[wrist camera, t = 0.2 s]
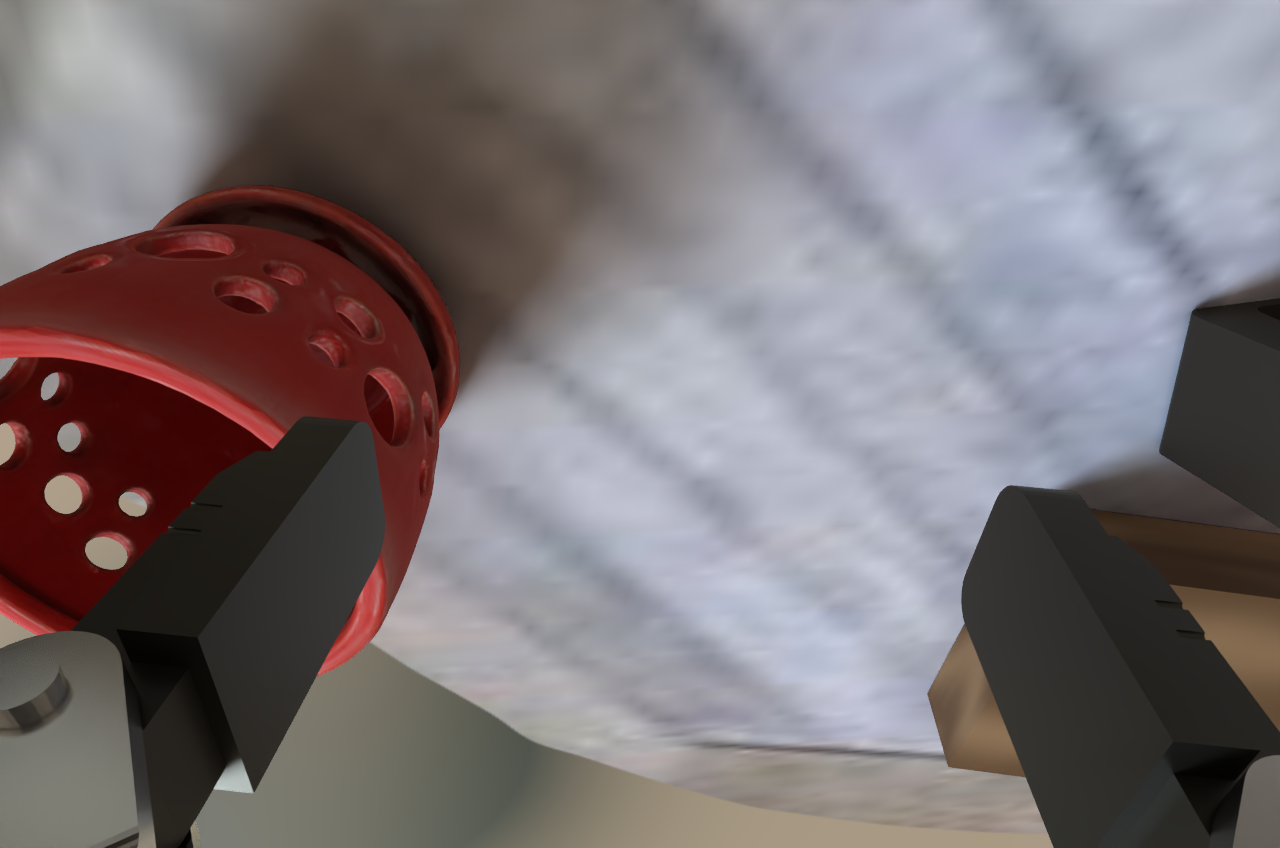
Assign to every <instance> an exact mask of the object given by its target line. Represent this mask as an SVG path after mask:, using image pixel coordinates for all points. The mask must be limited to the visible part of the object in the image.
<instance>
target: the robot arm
mask: <svg viewBox="0 0 1280 848" xmlns="http://www.w3.org/2000/svg"><path fill="white" fill-rule="evenodd" d="M384 534H385V513H384V506H383V500H382V493H381V486H380V479H379V472H378V466H377V459H376V452H375V445H374V439H373V434H372V431H371V428H370V426H369V425H368V424H367V423H366V422H363V421H354V420H343V419H333V418H322V417H312V416H304V417H302V418H300V419H299V420H298V421H297V422H296V423H295V424H294V425H293V426H292V427H291V428H290V430H289V431H288V432H287V433H286V434H285V435H284V436H283V438H282V439H281V440H280V441H279V442H278V443H277V444H276V446H275V447H274V448H273V449H272V450H271V451H270V452H264V451H256V452H254V453H252V454H251V455H249V456H247V457H245V458H244V459H242V460H240V461H238V462H237V463H235V464H233V465H232V466H230V467H228V468H226V469H225V470H223V471H221V472H220V473H218V474H217V475H216V476H215V477H214V478H213V479H212V480H211V481H210V482H209V483H208V484H207V486H206V487H205V488H204V489H203V490H202V491H201V492H200V493H199V494H198V495H197V496H196V497H195V498H194V499H193V501H192V502H191V507H190V509H188V508H185V509H184V510H183V511H182V512H181V513H180V514H179V515H178V517H177V518H176V519H175V520H174V521H173V522H172V523H171V524H170V525H169V526H168V532H167V533H162V534H161V535H160V536H159V537H158V538H157V539H156V540H155V541H154V542H153V543H152V544H151V545H150V546H149V548H148V549H147V550H146V551H145V552H144V553H143V554H142V555H141V556H140V557H139V558H138V559H137V560H136V561H135V563H134V564H133V565H132V566H131V567H130V568H129V569H128V570H127V571H126V572H125V573H124V574H123V575H122V576H121V577H120V579H119V580H118V581H117V582H116V583H115V584H114V585H113V586H112V587H111V588H110V589H109V590H108V591H107V592H106V594H105V595H104V596H103V597H102V598H101V599H100V600H99V601H98V602H97V603H96V604H95V605H94V606H93V607H92V608H91V610H90V611H89V612H88V613H87V614H86V615H85V616H84V617H83V618H82V619H81V620H80V621H79V622H78V623H77V625H76V626H75V627H74V628H73V629H72V630H71V631H61V632H53V633H47V634H42V635H38V636H34V637H31V638H27V639H24V640H21V641H18V642H15V643H12V644H10V645H7V646H5V647H3V648H1V649H0V848H202V847H201V841H200V835H199V831H198V827H197V824H196V822H195V819H196V818H197V816H198V814H199V813H200V811H201V809H202V807H203V806H204V804H205V802H206V801H207V799H208V797H209V796H210V794H211V792H212V790H213V789H218V790H228V791H238V792H246V793H247V792H248V793H254V792H255V790H256V788H257V787H258V785H259V783H260V781H261V779H262V777H263V775H264V773H265V772H266V770H267V768H268V766H269V764H270V762H271V760H272V758H273V757H274V755H275V753H276V751H277V749H278V747H279V745H280V743H281V741H282V740H283V738H284V736H285V734H286V732H287V730H288V728H289V727H290V725H291V723H292V721H293V719H294V717H295V715H296V714H297V712H298V710H299V708H300V706H301V704H302V702H303V700H304V699H305V697H306V695H307V693H308V691H309V689H310V687H311V685H312V684H313V682H314V680H315V678H316V676H317V674H318V672H319V670H320V669H321V667H322V665H323V663H324V661H325V659H326V657H327V656H328V654H329V652H330V650H331V648H332V646H333V644H334V642H335V641H336V639H337V637H338V635H339V633H340V631H341V629H342V627H343V626H344V624H345V622H346V620H347V618H348V616H349V614H350V612H351V611H352V609H353V607H354V605H355V603H356V601H357V599H358V598H359V596H360V594H361V592H362V590H363V588H364V586H365V584H366V583H367V581H368V579H369V577H370V575H371V573H372V571H373V569H374V568H375V566H376V564H377V561H378V559H379V556H380V553H381V550H382V546H383V541H384ZM1182 604H1183V602H1182V601H1181V599H1180V598H1179V597H1178V595H1177V594H1176V593H1175V591H1174V590H1173V589H1172V587H1171V586H1170V585H1169V583H1168V582H1167V581H1166V579H1165V578H1164V577H1163V575H1162V574H1161V573H1160V571H1159V570H1158V569H1157V567H1155V566H1154V565H1153V564H1152V563H1150V562H1149V561H1148V560H1146V559H1145V558H1144V557H1143V556H1141V555H1140V554H1139V553H1138V552H1136V551H1135V550H1134V549H1133V548H1131V547H1130V546H1129V545H1128V544H1126V543H1125V542H1124V541H1123V540H1121V539H1120V538H1119V537H1118V536H1110V535H1108V534H1107V532H1106V531H1105V529H1104V528H1103V527H1102V525H1101V524H1100V522H1099V521H1098V520H1097V518H1096V517H1095V515H1094V514H1093V512H1092V511H1091V510H1090V508H1089V507H1088V505H1087V504H1086V503H1085V501H1084V500H1083V499H1082V497H1081V496H1080V495H1078V494H1077V493H1075V492H1073V491H1065V490H1054V489H1044V488H1034V487H1023V486H1012V485H1010V486H1007V487H1006V488H1004V489H1003V490H1002V491H1001V492H1000V494H999V495H998V497H997V499H996V501H995V504H994V506H993V508H992V511H991V513H990V516H989V518H988V521H987V523H986V525H985V528H984V530H983V533H982V535H981V538H980V540H979V542H978V545H977V547H976V550H975V552H974V555H973V557H972V559H971V562H970V564H969V567H968V569H967V572H966V574H965V577H964V581H963V587H962V613H963V618H964V622H965V625H966V628H967V631H968V633H969V636H970V638H971V641H972V643H973V646H974V648H975V651H976V653H977V656H978V658H979V661H980V663H981V666H982V668H983V671H984V673H985V676H986V678H987V681H988V683H989V686H990V688H991V691H992V693H993V696H994V698H995V701H996V704H997V706H998V709H999V711H1000V714H1001V716H1002V719H1003V721H1004V724H1005V726H1006V729H1007V731H1008V734H1009V736H1010V739H1011V741H1012V744H1013V746H1014V749H1015V751H1016V754H1017V756H1018V759H1019V761H1020V764H1021V766H1022V769H1023V771H1024V774H1025V777H1026V779H1027V782H1028V784H1029V787H1030V789H1031V792H1032V794H1033V797H1034V799H1035V802H1036V804H1037V807H1038V809H1039V812H1040V814H1041V817H1042V819H1043V822H1044V824H1045V827H1046V829H1047V832H1048V834H1049V837H1050V839H1051V842H1052V844H1053V847H1054V848H1280V732H1279V730H1278V729H1277V728H1276V726H1275V725H1274V724H1273V722H1272V721H1271V720H1270V718H1269V717H1268V716H1267V714H1266V713H1265V712H1264V710H1263V709H1262V708H1261V706H1260V705H1259V704H1258V702H1257V701H1256V700H1255V698H1254V697H1253V696H1252V694H1251V693H1250V692H1249V690H1248V689H1247V688H1246V686H1245V685H1244V684H1243V682H1242V681H1241V680H1240V678H1239V677H1238V676H1237V674H1236V673H1235V672H1234V670H1233V669H1232V668H1231V666H1230V665H1229V664H1228V662H1227V661H1226V660H1225V658H1224V657H1223V656H1222V654H1221V653H1220V652H1219V650H1218V649H1217V647H1216V646H1215V645H1214V643H1213V642H1212V641H1211V640H1206V639H1205V631H1204V630H1203V629H1202V627H1201V626H1200V625H1199V623H1198V622H1197V621H1196V619H1195V618H1194V617H1193V615H1192V614H1191V613H1190V611H1189V610H1184V609H1183V608H1182Z"/></svg>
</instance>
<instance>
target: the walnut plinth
mask: <svg viewBox="0 0 1280 848" xmlns="http://www.w3.org/2000/svg"><path fill="white" fill-rule="evenodd" d="M1091 511H1092V512H1093V514H1094V515H1095V517H1096V518H1097V520H1098V521H1099V522H1100V524H1101V525H1102V527H1103V528H1104V529H1105V531H1106V532H1107V534H1108V535H1110V536H1118V537H1119V538H1120V539H1121V540H1123V541H1124V542H1125V543H1126V544H1128V545H1129V546H1130V547H1131V548H1133V549H1134V550H1135V551H1136V552H1138V553H1139V554H1140V555H1141V556H1143V557H1144V558H1145V559H1146V560H1148V561H1149V562H1150V563H1152V564H1153V565H1154V566H1155V567H1157V569H1158V570H1159V571H1160V573H1161V574H1162V575H1163V577H1164V578H1165V579H1166V581H1167V582H1168V583H1169V585H1170V586H1171V587H1172V589H1173V590H1174V591H1175V593H1176V594H1177V595H1178V597H1179V598H1180V599H1181V601H1182V602H1183V604H1182V608H1183V609H1184V610H1189V611H1190V613H1191V614H1192V615H1193V617H1194V618H1195V619H1196V621H1197V622H1198V623H1199V625H1200V626H1201V627H1202V629H1203V630H1204V631H1205V639H1206V640H1211V641H1212V642H1213V643H1214V645H1215V646H1216V647H1217V649H1218V650H1219V652H1220V653H1221V654H1222V656H1223V657H1224V658H1225V660H1226V661H1227V662H1228V664H1229V665H1230V666H1231V668H1232V669H1233V670H1234V672H1235V673H1236V674H1237V676H1238V677H1239V678H1240V680H1241V681H1242V682H1243V684H1244V685H1245V686H1246V688H1247V689H1248V690H1249V692H1250V693H1251V694H1252V696H1253V697H1254V698H1255V700H1256V701H1257V702H1258V704H1259V705H1260V706H1261V708H1262V709H1263V710H1264V712H1265V713H1266V714H1267V716H1268V717H1269V718H1270V720H1271V721H1272V722H1273V724H1274V725H1275V726H1276V728H1277V729H1278V730H1279V732H1280V535H1279V534H1272V533H1264V532H1257V531H1249V530H1242V529H1234V528H1226V527H1219V526H1211V525H1204V524H1196V523H1189V522H1181V521H1173V520H1166V519H1158V518H1151V517H1143V516H1136V515H1128V514H1120V513H1113V512H1105V511H1098V510H1091ZM928 698H929V701H930V705H931V708H932V712H933V715H934V719H935V722H936V726H937V729H938V733H939V736H940V740H941V743H942V746H943V750H944V753H945V757H946V760H947V764H948V767H952V768H960V769H967V770H975V771H983V772H990V773H998V774H1005V775H1013V776H1021V777H1025V774H1024V771H1023V769H1022V766H1021V764H1020V761H1019V759H1018V756H1017V754H1016V751H1015V749H1014V746H1013V744H1012V741H1011V739H1010V736H1009V734H1008V731H1007V729H1006V726H1005V724H1004V721H1003V719H1002V716H1001V714H1000V711H999V709H998V706H997V704H996V701H995V698H994V696H993V693H992V691H991V688H990V686H989V683H988V681H987V678H986V676H985V673H984V671H983V668H982V666H981V663H980V661H979V658H978V656H977V653H976V651H975V648H974V646H973V643H972V641H971V638H970V636H969V633H968V631H967V628H966V625H965V624H964V626H963V628H962V630H961V632H960V634H959V635H958V637H957V639H956V641H955V643H954V645H953V647H952V649H951V650H950V652H949V654H948V656H947V658H946V660H945V662H944V664H943V665H942V667H941V669H940V671H939V673H938V675H937V677H936V679H935V680H934V682H933V684H932V686H931V688H930V690H929V692H928Z"/></svg>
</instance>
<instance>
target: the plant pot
mask: <svg viewBox="0 0 1280 848" xmlns="http://www.w3.org/2000/svg"><path fill="white" fill-rule="evenodd" d="M13 357H18V359H17V360H16V361H15V363H14V364H13V366H12V367H11V369H10V370H9V371H8V373H7V374H6V375H5V376H4V377H3V378H2V379H1V380H0V425H1V424H3V423H7V424H8V425H9V426H11V428H12V430H13V432H14V434H15V442H16V445H15V449H14V452H13V454H12V456H11V457H10V459H9V460H8V461H7V462H5V463H3V464H2V465H0V613H1V614H3V615H4V616H5V617H7V618H9V619H10V620H12V621H14V622H15V623H17V624H19V625H20V626H22V627H24V628H25V629H27V630H29V631H30V632H32V633H34V634H36V635H42V634H47V633H53V632H61V631H71V630H72V629H73V628H74V627H75V626H76V625H77V623H78V622H79V621H80V620H81V619H82V618H83V617H84V616H85V615H86V614H87V613H88V612H89V611H90V610H91V608H92V607H93V606H94V605H95V604H96V603H97V602H98V601H99V600H100V599H101V598H102V597H103V596H104V595H105V594H106V592H107V591H108V590H109V589H110V588H111V587H112V586H113V585H114V584H115V583H116V582H117V581H118V580H119V579H120V577H121V576H122V575H123V574H124V573H125V572H126V571H127V570H128V569H129V568H130V567H131V566H132V565H133V564H134V563H135V561H136V560H137V559H138V558H139V557H140V556H141V555H142V554H143V553H144V552H145V551H146V550H147V549H148V548H149V546H150V545H151V544H152V543H153V542H154V541H155V540H156V539H157V538H158V537H159V536H160V535H161V534H162V533H167V532H168V526H169V525H170V524H171V523H172V522H173V521H174V520H175V519H176V518H177V517H178V515H179V514H180V513H181V512H182V511H183V510H184V509H185V508H188V509H190V507H191V502H192V501H193V499H194V498H195V497H196V496H197V495H198V494H199V493H200V492H201V491H202V490H203V489H204V488H205V487H206V486H207V484H208V483H209V482H210V481H211V480H212V479H213V478H214V477H215V476H216V475H217V474H218V473H220V472H221V471H223V470H225V469H226V468H228V467H230V466H232V465H233V464H235V463H237V462H238V461H240V460H242V459H244V458H245V457H247V456H249V455H251V454H252V453H254V452H256V451H264V452H270V451H271V450H272V449H273V448H274V447H275V446H276V444H277V443H278V442H279V441H280V440H281V439H282V438H283V436H284V435H285V434H286V433H287V432H288V431H289V430H290V428H291V427H292V426H293V425H294V424H295V423H296V422H297V421H298V420H299V419H300V418H302V417H304V416H312V417H322V418H333V419H343V420H354V421H363V422H366V423H367V424H368V425H369V426H370V428H371V431H372V434H373V439H374V445H375V452H376V459H377V466H378V472H379V479H380V486H381V493H382V500H383V506H384V513H385V534H384V541H383V546H382V550H381V553H380V556H379V559H378V561H377V564H376V566H375V568H374V569H373V571H372V573H371V575H370V577H369V579H368V581H367V583H366V584H365V586H364V588H363V590H362V592H361V594H360V596H359V598H358V599H357V601H356V603H355V605H354V607H353V609H352V611H351V612H350V614H349V616H348V618H347V620H346V622H345V624H344V626H343V627H342V629H341V631H340V633H339V635H338V637H337V639H336V641H335V642H334V644H333V646H332V648H331V650H330V652H329V654H328V656H327V657H326V659H325V661H324V663H323V665H322V667H321V669H320V670H319V672H318V674H317V676H319V675H321V674H324V673H326V672H328V671H331V670H333V669H335V668H336V667H338V666H340V665H342V664H344V663H346V662H347V661H348V660H349V659H351V658H352V657H354V656H355V655H356V654H357V653H358V652H360V651H361V650H362V649H363V648H364V647H365V646H366V645H367V644H368V643H369V642H370V641H371V640H372V639H373V637H374V636H375V635H376V633H377V632H378V630H379V629H380V627H381V625H382V623H383V621H384V619H385V618H386V616H387V613H388V611H389V609H390V607H391V605H392V603H393V601H394V598H395V596H396V594H397V592H398V590H399V588H400V585H401V583H402V581H403V579H404V576H405V574H406V571H407V569H408V566H409V563H410V561H411V558H412V555H413V552H414V550H415V547H416V544H417V541H418V538H419V535H420V532H421V529H422V526H423V523H424V520H425V516H426V513H427V510H428V507H429V503H430V499H431V495H432V490H433V484H434V473H435V467H436V461H437V455H438V448H439V430H440V428H441V427H442V425H443V424H444V422H445V420H446V419H447V417H448V415H449V413H450V411H451V409H452V406H453V403H454V401H455V397H456V394H457V389H458V383H459V375H460V360H459V346H458V342H457V338H456V333H455V330H454V326H453V323H452V321H451V318H450V315H449V313H448V311H447V309H446V306H445V304H444V302H443V300H442V299H441V297H440V295H439V293H438V291H437V290H436V288H435V287H434V285H433V284H432V282H431V281H430V279H429V278H428V276H427V275H426V273H425V272H424V271H423V270H422V269H421V267H420V266H419V265H418V264H417V262H416V261H415V260H414V259H413V258H412V257H411V256H410V255H409V254H408V253H407V252H406V250H404V249H403V248H402V247H401V246H400V245H399V244H398V243H397V242H396V241H395V240H393V239H392V238H391V237H389V236H388V235H387V234H385V233H384V232H383V231H381V230H380V229H379V228H377V227H376V226H374V225H373V224H371V223H370V222H368V221H367V220H365V219H364V218H362V217H360V216H358V215H357V214H355V213H353V212H351V211H349V210H347V209H345V208H343V207H341V206H339V205H337V204H334V203H332V202H329V201H327V200H325V199H322V198H319V197H316V196H313V195H310V194H307V193H304V192H300V191H295V190H291V189H286V188H280V187H273V186H241V187H231V188H225V189H220V190H216V191H212V192H209V193H206V194H203V195H200V196H197V197H195V198H193V199H190V200H188V201H186V202H185V203H183V204H181V205H179V206H178V207H176V208H175V209H174V210H172V211H171V212H170V213H169V214H167V215H166V216H165V217H164V218H163V219H162V220H161V221H160V222H159V223H158V224H157V225H156V226H155V227H154V229H153V230H149V231H145V232H142V233H138V234H134V235H131V236H127V237H124V238H121V239H117V240H114V241H110V242H107V243H104V244H100V245H96V246H93V247H89V248H86V249H83V250H79V251H77V252H74V253H72V254H70V255H68V256H65V257H63V258H61V259H59V260H57V261H55V262H52V263H50V264H48V265H46V266H44V267H42V268H40V269H38V270H36V271H33V272H31V273H28V274H26V275H23V276H21V277H19V278H17V279H15V280H13V281H10V282H8V283H6V284H4V285H2V286H0V359H2V358H13ZM55 372H57V373H58V376H59V386H58V388H57V391H56V393H55V394H54V395H53V396H52V397H51V398H50V399H48V400H43V399H42V397H41V387H42V383H43V381H44V380H45V378H46V377H47V376H48V375H50V374H52V373H55ZM71 422H72V423H74V424H76V425H77V427H78V428H79V430H80V432H81V441H80V443H79V445H78V446H77V448H76V449H75V450H73V451H71V452H65V451H64V450H62V449H61V447H60V446H59V443H58V441H57V435H58V432H59V430H60V428H61V427H62V426H63V425H64V424H67V423H71ZM59 475H65V476H68V477H70V478H71V479H73V480H74V481H75V482H76V483H77V484H78V486H79V487H80V489H81V492H82V503H81V505H80V507H79V508H78V509H77V510H76V511H75V512H73V513H70V514H62V513H59V512H56V511H55V510H53V509H52V508H51V507H50V506H49V505H48V504H47V502H46V500H45V495H44V490H45V487H46V485H47V483H48V482H49V481H50V480H51V479H53V478H54V477H56V476H59ZM125 492H135V493H137V494H139V495H141V496H142V497H143V498H144V500H145V501H146V504H147V510H146V512H145V514H144V515H142V516H138V517H135V516H129V515H128V514H126V513H125V512H123V511H122V510H121V508H120V507H119V503H118V502H119V498H120V496H121V495H122V494H123V493H125ZM103 536H104V537H109V538H112V539H114V540H116V541H118V542H120V543H121V544H122V545H123V546H124V548H125V549H126V551H127V556H128V558H127V562H126V564H125V565H124V566H123V567H122V568H120V569H116V570H108V569H103V568H100V567H98V566H96V565H94V564H93V563H92V562H91V561H90V560H89V559H88V557H87V556H86V553H85V547H86V543H87V542H88V541H90V540H91V539H93V538H96V537H103ZM317 676H316V677H317Z"/></svg>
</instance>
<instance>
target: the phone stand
mask: <svg viewBox="0 0 1280 848" xmlns="http://www.w3.org/2000/svg"><path fill="white" fill-rule="evenodd" d="M1159 452H1160V454H1162V455H1163V456H1165V457H1166V458H1168V459H1169V460H1171V461H1173V462H1174V463H1176V464H1178V465H1179V466H1181V467H1182V468H1184V469H1186V470H1187V471H1189V472H1191V473H1192V474H1194V475H1195V476H1197V477H1199V478H1200V479H1202V480H1203V481H1205V482H1207V483H1208V484H1210V485H1212V486H1213V487H1215V488H1216V489H1218V490H1220V491H1221V492H1223V493H1225V494H1226V495H1228V496H1229V497H1231V498H1233V499H1234V500H1236V501H1238V502H1239V503H1241V504H1242V505H1244V506H1246V507H1247V508H1249V509H1250V510H1252V511H1254V512H1255V513H1257V514H1259V515H1260V516H1262V517H1263V518H1265V519H1267V520H1268V521H1270V522H1272V523H1273V524H1275V525H1276V526H1278V527H1280V298H1279V299H1271V300H1264V301H1256V302H1248V303H1240V304H1232V305H1225V306H1217V307H1209V308H1201V309H1195V310H1193V311H1192V314H1191V318H1190V322H1189V327H1188V331H1187V335H1186V339H1185V344H1184V348H1183V352H1182V356H1181V360H1180V365H1179V369H1178V373H1177V377H1176V382H1175V386H1174V390H1173V394H1172V399H1171V403H1170V407H1169V411H1168V415H1167V420H1166V424H1165V428H1164V432H1163V437H1162V441H1161V445H1160V449H1159Z"/></svg>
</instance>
